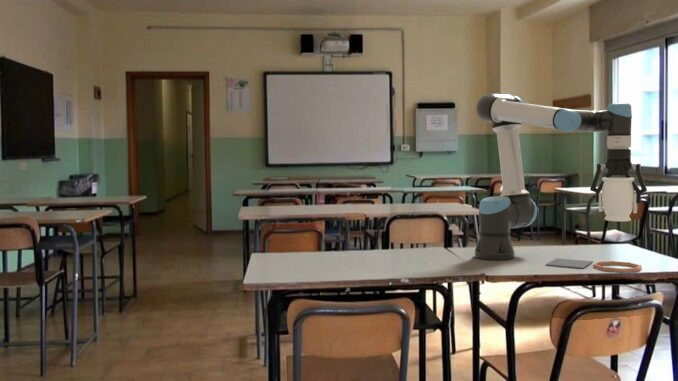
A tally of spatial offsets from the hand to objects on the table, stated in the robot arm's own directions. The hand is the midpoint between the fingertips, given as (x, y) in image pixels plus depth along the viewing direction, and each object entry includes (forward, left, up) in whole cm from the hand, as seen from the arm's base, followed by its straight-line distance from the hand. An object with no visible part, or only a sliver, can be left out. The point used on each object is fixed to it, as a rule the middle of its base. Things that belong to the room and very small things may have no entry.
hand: (617, 212), depth 215 cm
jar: (0, 0, -3) cm, 3 cm away
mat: (-16, 0, -20) cm, 25 cm away
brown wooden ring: (0, 0, -20) cm, 20 cm away
